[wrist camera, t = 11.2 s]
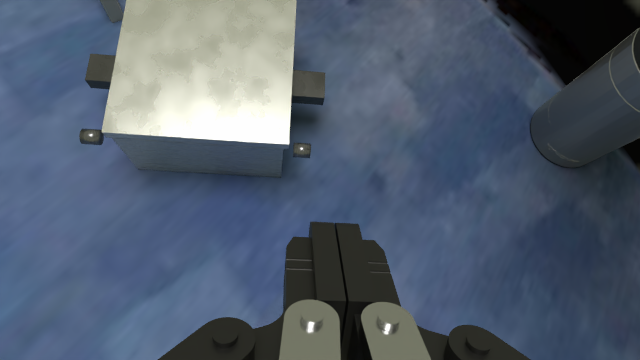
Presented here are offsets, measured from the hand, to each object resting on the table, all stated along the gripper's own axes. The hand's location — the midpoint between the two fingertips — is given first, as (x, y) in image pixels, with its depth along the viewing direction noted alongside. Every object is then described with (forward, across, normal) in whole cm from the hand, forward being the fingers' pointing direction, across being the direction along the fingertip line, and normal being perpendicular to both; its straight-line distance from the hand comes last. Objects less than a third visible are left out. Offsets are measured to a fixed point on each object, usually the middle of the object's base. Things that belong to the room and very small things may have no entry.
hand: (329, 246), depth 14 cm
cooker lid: (+36, +9, +2) cm, 37 cm away
